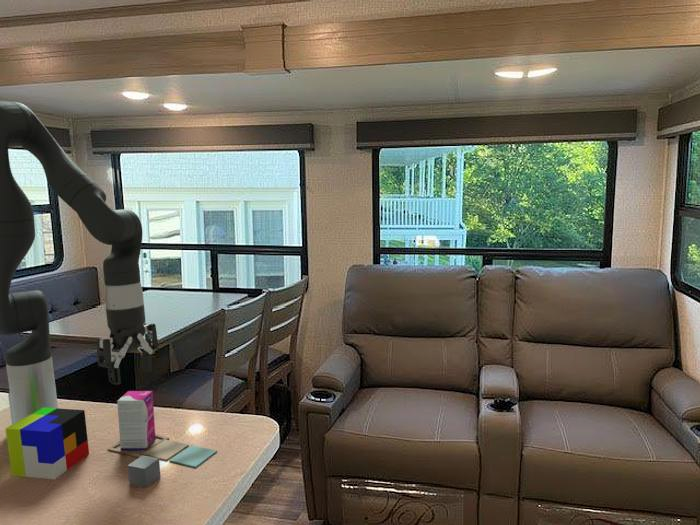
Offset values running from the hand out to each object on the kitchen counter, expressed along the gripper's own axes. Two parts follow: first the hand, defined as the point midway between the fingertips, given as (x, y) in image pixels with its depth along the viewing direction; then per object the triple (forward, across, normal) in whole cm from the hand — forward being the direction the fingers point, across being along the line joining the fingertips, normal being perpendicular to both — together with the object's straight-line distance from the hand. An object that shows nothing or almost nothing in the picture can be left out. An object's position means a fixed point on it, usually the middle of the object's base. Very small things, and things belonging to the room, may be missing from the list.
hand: (131, 377), depth 115 cm
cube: (+16, -10, -12) cm, 23 cm away
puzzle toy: (+16, -13, +11) cm, 23 cm away
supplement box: (+16, 0, 0) cm, 16 cm away
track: (+16, 0, -7) cm, 17 cm away
